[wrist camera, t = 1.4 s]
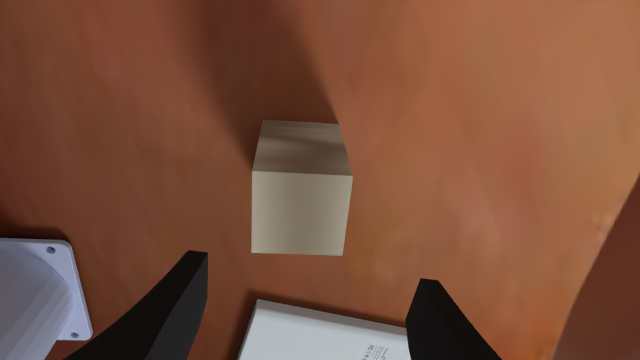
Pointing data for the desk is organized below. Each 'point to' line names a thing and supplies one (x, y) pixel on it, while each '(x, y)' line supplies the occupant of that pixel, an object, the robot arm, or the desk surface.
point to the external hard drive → (318, 336)
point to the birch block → (300, 189)
